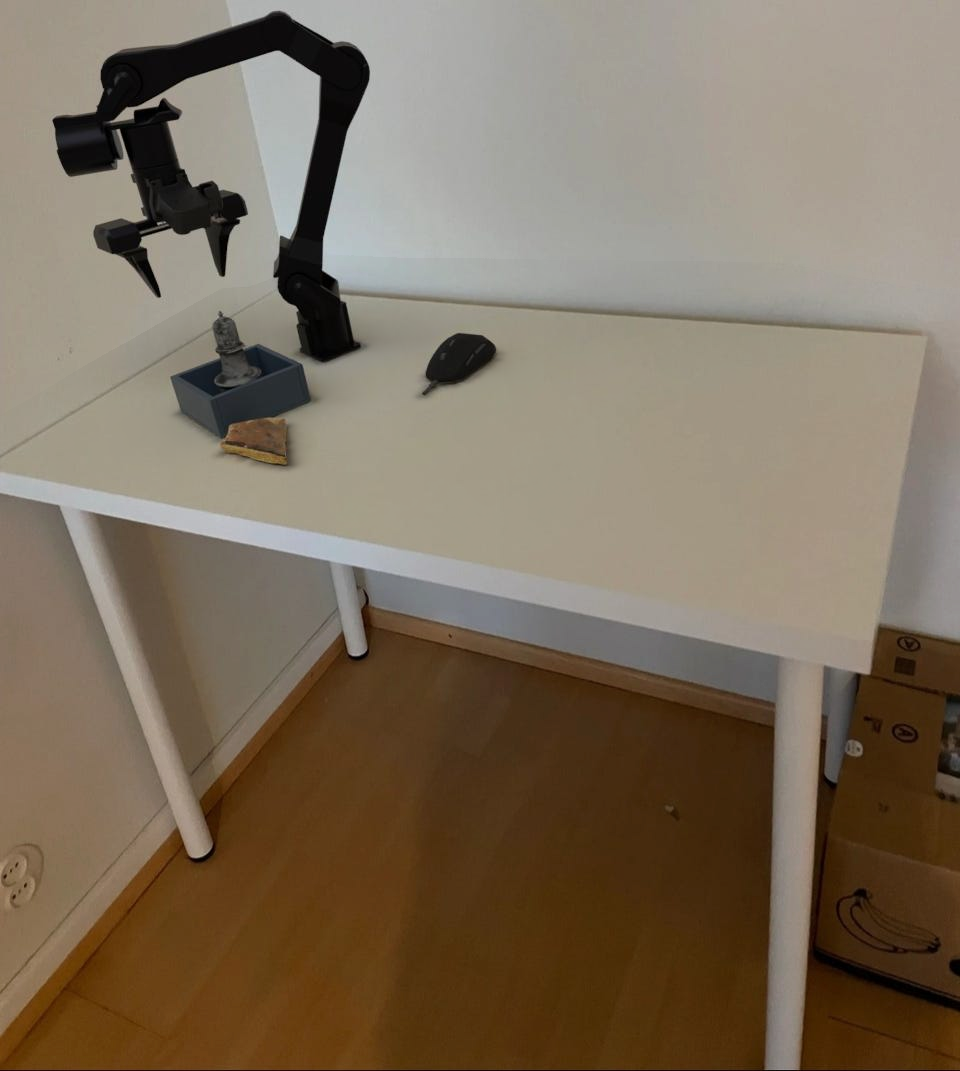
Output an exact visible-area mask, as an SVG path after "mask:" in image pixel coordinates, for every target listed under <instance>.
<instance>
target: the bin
mask: <svg viewBox="0 0 960 1071" xmlns="http://www.w3.org/2000/svg"><path fill="white" fill-rule="evenodd" d="M243 351H244V354H245V358H246V360H247V362H248V364H249V366H252V367H257V368H259V369H260V370H261V372H262V373H261V376H260V378H259V379H256V380H254V381H251V382H249V383H246V384H244V385H241V386H238V387H236V388H233V389H231V390H228V391H226V392H223V393H222V392H221V390H220V389H219V386H217V385H216V384H215V381H214V380H215V378H216V377H217V376H218V375H219V374H221V373H222V363H221V359H220V357H219V358H215V359H213V360H210V361H208V362H205V363H202V364H199V365H197V366H195V367H194V366H193V367H192V368H189V369H186V370H184V371H181V372H179V373H175V374H172V375H170V376H169V378H170V379H169V380H170V381H171V384H172V387H173V391H174V393H175V398H176V400H177V403H178V407H179V409H180V413H182V414H183V415H184V416H186V417H188V418H189V419H190V420H192V421H194V422H195V423H196V424H199V425H200V426H202V427H203V428H204V429H206V430H207V431H209V432H211V433H212V434H214V435H215V436H216V437H218V438H220V439H224V438H226V436H227V434H228V430H229V426H230V425H231V424H234V423H238V422H244V421H250V420H256V419H260V418H268V417H270V418H275V417H276V416H278V415H281V414H284V413H286V412H288V411H290V410H293V409H295V408H298V407H300V406H302V405H305V404H308V403H310V402H312V397H311V394H310V390H309V385H308V381H307V377H306V374H305V368H304V365H303V363H301V362H299V361H297V360H295V359H293V358H291V357H288V356H286V355H284V354H282V353H279V352H277V351H275V350H273V349H271V348H269V347H267V346H265V345H262V344H260V343H256V344H254V345H251V346H247V347H246V348H243Z"/></svg>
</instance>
